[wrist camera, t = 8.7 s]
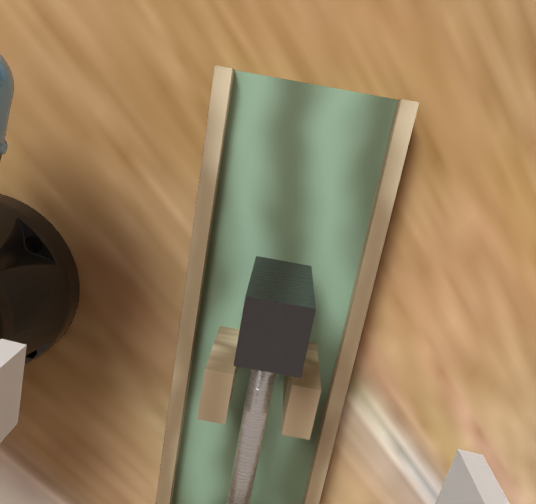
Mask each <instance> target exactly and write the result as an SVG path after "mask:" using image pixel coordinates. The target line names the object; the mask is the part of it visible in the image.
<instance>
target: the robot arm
mask: <svg viewBox="0 0 536 504" xmlns="http://www.w3.org/2000/svg"><path fill="white" fill-rule="evenodd" d="M13 92H14V81H13V75H12V72H11V70H10V68H9V66H8V64H7V62H6V61H5V59H4V58H3V57H2V56H1V54H0V160H1V156H2V154H5V153H6V150H7V142H6V141H5V136H6V130H7V124H8V118H9V112H10V107H11V102H12V97H13ZM78 301H79V278H78V272H77V268H76V265H75V262H74V259H73V256H72V254H71V252H70V250H69V248H68V246H67V244H66V242H65V241H64V239H63V238H62V236H61V235H60V234H59V232H58V231H57V230H56V229H55V227H54V226H53V225H52V224H51V223H50V222H49V221H48V220H47V219H46V218H45V217H43V216H42V215H41V214H40V213H38V212H37V211H36V210H34V209H33V208H31V207H30V206H28V205H26V204H24V203H23V202H21V201H18V200H16V199H14V198H11V197H9V196H6V195H2V194H0V443H1V442H2V441H3V439H4V438H5V437H6V436H7V435H8V434H9V433H10V432H11V430H12V429H13V428H14V427H15V426H16V425H17V424H18V417H19V409H20V400H21V391H22V382H23V373H24V364H26V363H28V362H30V361H32V360H34V359H36V358H37V357H39V356H40V355H42V354H43V353H45V352H46V351H47V350H48V349H49V348H50V347H51V346H52V345H53V344H54V343H55V342H56V341H58V340H59V339H60V338H61V337H62V335H63V334H64V333H65V332H66V330H67V329H68V328H69V326H70V324H71V322H72V320H73V318H74V316H75V313H76V310H77V306H78ZM435 504H509V502H508V500H507V498H506V496H505V494H504V493H503V491H502V489H501V487H500V485H499V483H498V482H497V480H496V478H495V476H494V474H493V473H492V471H491V469H490V467H489V465H488V463H487V462H486V460H485V458H484V456H483V455H481V454H477V453H473V452H469V451H464V450H460V449H458V450H457V453H456V455H455V458H454V460H453V462H452V465H451V467H450V470H449V472H448V474H447V477H446V479H445V482H444V484H443V487H442V489H441V491H440V494H439V496H438V499H437V501H436V503H435Z"/></svg>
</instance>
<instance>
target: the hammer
mask: <svg viewBox="0 0 536 504" xmlns="http://www.w3.org/2000/svg"><path fill="white" fill-rule="evenodd" d="M315 312H316V304H315V295H314V285H313V276H312V267H311V266H309V265H303V264H298V263H292V262H287V261H282V260H276V259H271V258H265V257H260V256H256V258H255V262H254V266H253V270H252V273H251V277H250V281H249V285H248V288H247V292H246V296H245V301H244V307H243V313H242V319H241V325H240V330H239V336H238V342H237V348H236V353H235V359H234V365H233V366H238V367H243V368H248V369H251V373H250V378H249V384H248V389H247V394H246V400H245V405H244V411H243V416H242V421H241V427H240V432H239V438H238V443H237V449H236V454H235V459H234V465H233V470H232V476H231V481H230V486H229V492H228V497H227V503H226V504H250V500H251V495H252V490H253V485H254V480H255V475H256V470H257V465H258V460H259V455H260V450H261V445H262V440H263V435H264V430H265V425H266V420H267V415H268V410H269V405H270V400H271V395H272V390H273V385H274V380H275V375H276V374H281V375H287V376H292V377H298V378H301V376H302V371H303V367H304V362H305V358H306V353H307V348H308V344H309V339H310V335H311V330H312V325H313V321H314V316H315Z"/></svg>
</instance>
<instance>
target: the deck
mask: <svg viewBox="0 0 536 504" xmlns="http://www.w3.org/2000/svg"><path fill="white" fill-rule="evenodd" d="M418 105H419V102H414V101H408V100H403V99H400V100H396V99H391V98H385V97H380V96H374V95H369V94H363V93H358V92H352V91H347V90H341V89H336V88H330V87H325V86H319V85H314V84H308V83H303V82H297V81H292V80H286V79H281V78H275V77H270V76H264V75H259V74H253V73H248V72H242V71H237V70H234V69H232V68H227V67H221V66H216V65H215V69H214V76H213V84H212V91H211V98H210V106H209V113H208V120H207V128H206V135H205V143H204V150H203V157H202V165H201V172H200V180H199V187H198V194H197V202H196V209H195V216H194V224H193V231H192V239H191V246H190V253H189V261H188V268H187V276H186V283H185V290H184V298H183V305H182V312H181V320H180V327H179V335H178V342H177V349H176V357H175V364H174V372H173V379H172V386H171V394H170V401H169V408H168V416H167V423H166V431H165V438H164V445H163V453H162V460H161V468H160V475H159V482H158V490H157V497H156V504H226V503H227V497H228V492H229V486H230V481H231V476H232V470H233V465H234V459H235V454H236V449H237V443H238V438H239V432H240V427H241V421H242V416H243V411H244V405H245V400H246V394H247V389H248V384H249V378H250V373H251V369H248V368H243V367H238V366H233V365H234V359H235V353H236V348H237V342H238V336H239V330H240V325H241V319H242V313H243V307H244V301H245V296H246V292H247V288H248V285H249V281H250V277H251V273H252V270H253V266H254V262H255V258H256V256H260V257H265V258H271V259H276V260H282V261H287V262H292V263H298V264H303V265H309V266H311V267H312V276H313V285H314V295H315V304H316V312H315V316H314V321H313V325H312V330H311V335H310V339H309V344H308V348H307V353H306V358H305V362H304V367H303V371H302V376H301V378H298V377H292V376H287V375H281V374H276V375H275V380H274V385H273V390H272V395H271V400H270V405H269V410H268V415H267V420H266V425H265V430H264V435H263V440H262V445H261V450H260V455H259V460H258V465H257V470H256V475H255V480H254V485H253V490H252V495H251V500H250V504H319V502H320V498H321V494H322V490H323V486H324V482H325V478H326V474H327V470H328V466H329V462H330V458H331V454H332V450H333V446H334V442H335V438H336V434H337V430H338V426H339V422H340V418H341V414H342V410H343V406H344V402H345V398H346V394H347V390H348V386H349V382H350V378H351V374H352V370H353V366H354V362H355V358H356V354H357V350H358V346H359V342H360V338H361V334H362V330H363V326H364V322H365V317H366V313H367V309H368V305H369V301H370V297H371V293H372V289H373V285H374V281H375V277H376V273H377V269H378V265H379V261H380V257H381V253H382V249H383V245H384V241H385V237H386V233H387V229H388V225H389V221H390V217H391V213H392V209H393V205H394V201H395V197H396V193H397V189H398V185H399V181H400V177H401V173H402V169H403V165H404V161H405V157H406V153H407V149H408V145H409V141H410V137H411V133H412V129H413V125H414V121H415V117H416V113H417V109H418Z"/></svg>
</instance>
